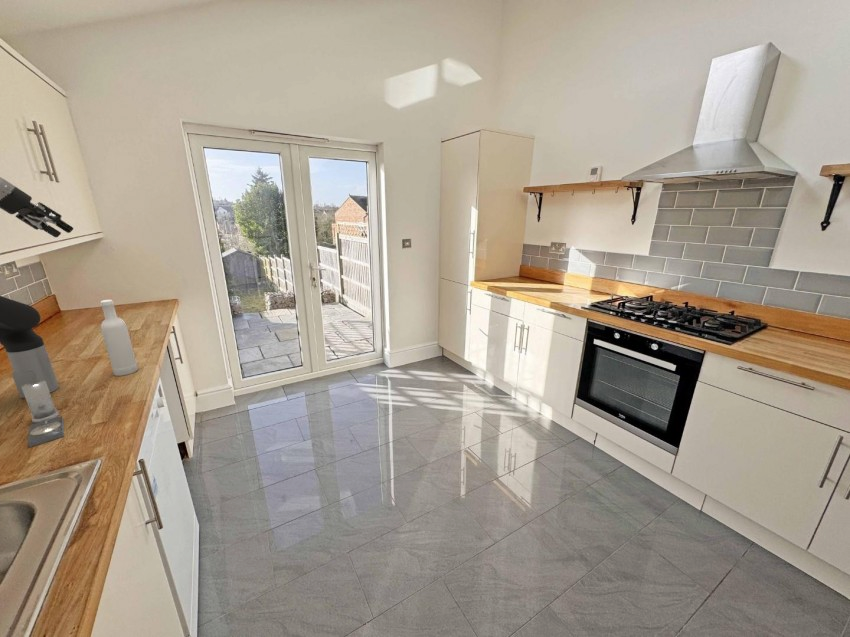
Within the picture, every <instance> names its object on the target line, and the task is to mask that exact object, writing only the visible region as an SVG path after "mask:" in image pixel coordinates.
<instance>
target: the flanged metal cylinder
mask: <svg viewBox="0 0 850 637" xmlns="http://www.w3.org/2000/svg"><path fill="white" fill-rule="evenodd" d="M21 388H22V390H23V393H24V395H25V398H24V399H25V400H26V403H27V405H28V409H29V410H30V413H31V416H32V417H31V421H32V423H33V424H36V423H40V422H43V421H47V420H50V419H54V418H57V417H60V416H59V415H60V412H59V409H56V407H55V406H56V405H55V403H54V400H53V398H52V396H51V393H50V392H49V389H48V387H47V384H46V381H45V380H38V381H33V382H30V383H27V384H24V385H23V386H22V387H21Z"/></svg>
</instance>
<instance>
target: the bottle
mask: <svg viewBox="0 0 850 637" xmlns="http://www.w3.org/2000/svg"><path fill="white" fill-rule="evenodd" d="M100 307H101V309H102V312H103V316H104V319H103V320H102V322H101V326H100V331H101V334H102V338H103V342H104V345H105V348H106V351H107V355H108V358H109V361H110V364H111V370H112V372H113V374H114V376H117V377H120V376H121V377H124V376H128V375H131V374H134V373H136V372H137V371H138V370H139V366H138V362H137V359H136V356H135V352H134V348H133V345H132V341H131V337H130V333H129V330H128V326H127V324H126V322H125V321H124V319H122V318H121V317H119V316H117V311H116V307H115V302H114V301H113V299H104V300H100Z"/></svg>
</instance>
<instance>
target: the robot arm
mask: <svg viewBox="0 0 850 637" xmlns="http://www.w3.org/2000/svg"><path fill="white" fill-rule="evenodd" d="M32 200H33V198H32V196H31V195H29V194H28V193H26V192H25V191H23V190H22V189H20V188H18V187H17V186H15V185H14V184H12V183H11V182H10V181H7V180H6V179H4V178H2V177H1V176H0V209H1V210H2V211H4V212H6V213H7V214H10V215H15V218H17V219H18V220H20V221H22V222H24V223H25V224H26V225H28V226H29V227H31V228H33V229H35V230H40V231H44V232H46V233H47V234H49V235H50V236H52V237H53V238H58V237H59V236H60V235H61V234H62V232H61V231H59V230H58V229H56V228H54V227H53V226H51V225H50V224H53V225H55V226H56V227H58V228H59V229H60V230H62V231H64V232H65V233H67V234H69V233H72V232H73V230H74V227H72V225H70V224H69V223H67V222H65V221H63V220H62V215H61V214H60V213H58V212H56V211H55V210H53V209H52V208H50V207H49V206H47V205H45V203H42V202H41V201H39V202H38V203H36V204H34V203H32V202H31V201H32ZM48 223H50V224H48ZM40 314H41V313H39V311H38V310H37V309H36V308H35V307H33V306H32V305H29V304H27V303H23V302H20V301H17V300H14V299H11V298H8V297H4V296H2V295H0V345H1V346H2V347H3V348H4V350H5V352H6V355H7V357H8V360H9V363H10V365H11V367H12V370H13V373H11V376H12V378H13V381H14V384H15V386H16V390H17V391H18V392H17V393H18V395H19V396H20V399H26V398H25V395H24V393H23V390H22V388H21V387H22V386H23V385H24V384H27V383H30V382H33V381H38V380H45V381H46V384H47V387H48V389H49V392H50V394H51V393H53V392H55V391H57V390H58V389H59V388H60V384H59V382H58V380H57V376H56V374H55V371H54V367H53V366H52V363H51V360H50V356H49V353H48V351H47V349H46V345H45V342H44V340H43V338H42V337H41V336H40V335H39V334H37V333H36V332H35V331H34V330H33V329H34V328H35V327H37V326H38V325H39V324H40V322H41V315H40Z"/></svg>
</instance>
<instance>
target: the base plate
mask: <svg viewBox="0 0 850 637" xmlns="http://www.w3.org/2000/svg"><path fill="white" fill-rule="evenodd" d="M64 421H65V420H64V418H63V415H62V416H57V417H56V418H54V419H50V420H47V421H43V422H40V423H33V424H30V425H29V428H28V429H29V430H28V437H27V445H28V447H29V448H31V447H35V446H38V445H41V444H45V443H47V442H51V441H54V440H57V439H60V438H63V437H65V430H64V429H65V427H64V426H65V425H64Z"/></svg>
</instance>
